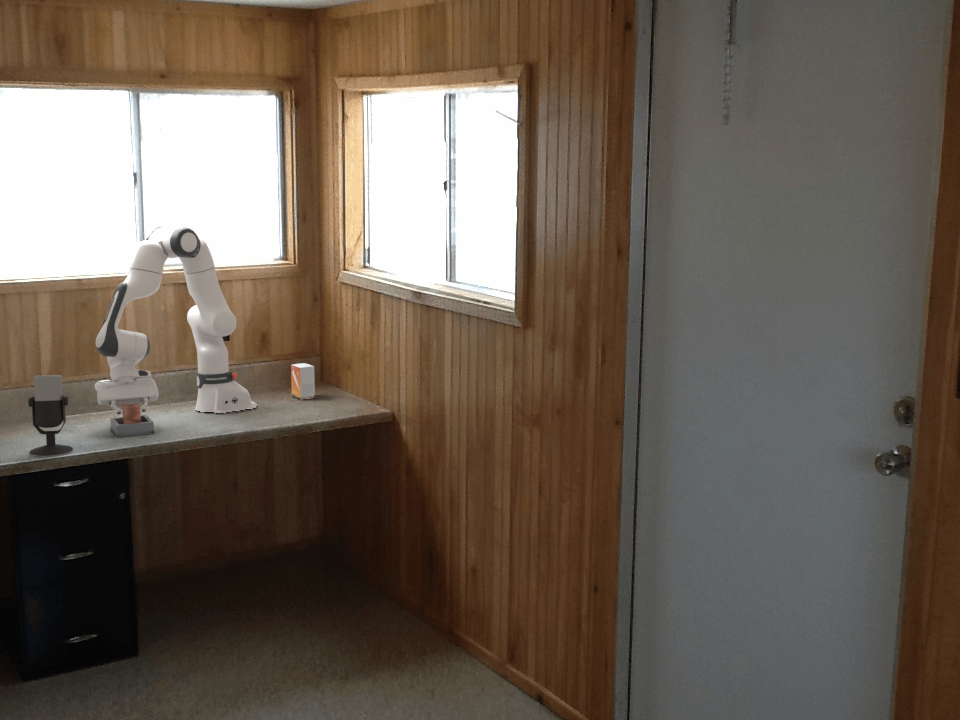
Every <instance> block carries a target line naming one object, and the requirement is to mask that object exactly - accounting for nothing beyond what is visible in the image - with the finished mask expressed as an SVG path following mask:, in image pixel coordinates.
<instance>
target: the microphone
mask: <svg viewBox="0 0 960 720" xmlns="http://www.w3.org/2000/svg"><path fill="white" fill-rule="evenodd" d="M33 390H34V391H33V395H32V396H31V397H29V398H28V401H27V403H28V407H30V408H31V415H32V426H33V427H34V428H35V429H36V431H38V433H39V434H40V435H45V441H46V444H45V445H41V446H39V447H35V448H32V449H31V450H30V451H29V455H30V454H31V455H30V456H32V455H33V456H32V457H36V456H54V457H60V456H59V455H61V456H65V455H68V453H69V454H71V453H72V452H74V448H73V446H71V445H64V444H57V443H56V435H57V434H60V432H61V431H62V429H63V428H64V425H65V424H66V420H67V418H66V416H67V415H66V406H69V397H68V396H65V395H63V376H62V375H61V374H48V375H45V374H44V375H41V374H40V375H34V376H33ZM60 425H61V428H60V429H58V430H43V428H44V429H47V428H48V429H49V428H50V429H51V428H57V427H59V426H60ZM70 452H71V453H70ZM64 454H65V455H64Z"/></svg>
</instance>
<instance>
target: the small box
mask: <svg viewBox="0 0 960 720" xmlns="http://www.w3.org/2000/svg"><path fill="white" fill-rule="evenodd" d="M290 371H291V373H290V374H291V378H290V380H291V381H290V382H291V383H290V384H291V395H292V394H294V395H296V396H298V397H308V396H314V395H315V396H316V388H315V387H316V384H315V382H316V381H315V365H311V364H309V363H306V362H302V363H294V364H293V363H292V364H291V365H290Z"/></svg>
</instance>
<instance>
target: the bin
mask: <svg viewBox="0 0 960 720" xmlns="http://www.w3.org/2000/svg"><path fill="white" fill-rule="evenodd" d="M140 415H141V423H131V424H123V416H122V417H121V416H120V417H111V418H110V419H109V421H110V422H109V423H110V431H111V432H112V433H113V435H114V436H115V437H116V438H123V437H124V438H125V437H134V436H133V435H136V436H142V435H141V434H145V435H150V434H149V433H154V434H155V423H154V421H153V420H152V418H150V417H149V416H148V415H147V414H143V415H142V414H140Z"/></svg>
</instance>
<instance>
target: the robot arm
mask: <svg viewBox="0 0 960 720" xmlns="http://www.w3.org/2000/svg"><path fill="white" fill-rule="evenodd" d="M208 246H209V245H208V244H207V242H206V241H204V240H203V239H199V236H198V234H197V233H196V232H195V231H194V230H193V229H191V228H189V227H187V226H186V227H185V226H173V225H171V226H165V227H163V226H159V227H156V228H153V229H151V231H149V233H148V235H147V236H146V239H145V240H141V241H139V242H138V243H137V245H136V247H135V250H134V252H133V255H132V258H131V262H130V266H129V272H128V274H127V276H126V277H125V279H124V280H123V282H120V283H119V284H118V285H117V286H116V288H115V290H114V292H113V294H112V297H111V300H110V302H109V305H108V307H107V310H106V314H105V317H104V318H103V321H102V324H101V327H100V329H99V330H98V332H97V334H96V336H95V337H96V338H95V339H94V340H95V341H94V346H95V348H96V350H97V351H98V353H99V354H100V355H101V356H102V357H106V360H107V363H108V364H107V365H108V367H109V375H110V379H105V380H98V381H96V382H95V383H94V390H95V392H96V394H97V395H96V397H97V398H96V399H97V404H98V405H99V406H101V407H102V406H110V407H111V409H113V411H114V412H115V415H121V414H122V412H121V411H122V409H121V407H118V406H117V405H122V404H123V405H126V404H137V403H142V405H140V411H141V413H144V412H146V413H147V405H148V402H156V401H158V398H159V395H160V392H159V389H158V386H157V383H156V381H155V379H153V378H152V373H151V371H149V370H144V369H139V368H136V365H138V364H139V363H141V362H142V361H143V360H145V359H146V358H147V357H148V356H149V354H150V353H151V343H150V339H149V337H148V335H146V334H145V333H142V332H139V331H133V330H132V331H131V330H124V329H120V328H119V325H120V321H121V319H122V316H123V313H124V310H125V308H126V306H127V305H128V303H130V302H133V301H135V300H138V299H144V298H148V297H151V296H152V295H154V294H156V293H157V292H158V290H159V289H160V287H161V283H162V278H163V273H164V266H165V262H166V261H167V260H168V259H175V258H179V260H180V261H181V263H182V268H183V274H184V277H185V282H186V287H187V290H188V294H189V295H190V297H192V299H193V301H194V303H195V305H193V306H192V307H190V309H189V310H188V311H187V314H186V319H187V323H188V325H189V326H190V329H191V332H192V336H193V339H194V344H195V349H196V353H197V354H196V355H197V357H196V358H197V372H196V386H197V398H196V399H197V400H196V404H195V408H194V411H196V410H197V411H196V412H198V411H200V412H199V413H204V412H214V413H213V414H216V413H224V412H230V411H236V410H242V409H247V408H254V407H256V406H257V407H258V405H257V403H256V402H255V401H253V400H252V399H251V395H250V393H249V391H248V389H247V388H245V387H244V386H242V385H241V384H240V383H238V382H237V381H235V380H236V379H237V378H238V377H239V375H238V374H237V372H233V371H231V370H229V369H230V368H229V350H228V348H227V345H225V342H224V341H225V340H224V338H223V337H227V336H230V335H232V334H233V333H234V331H235V330H236V328H237V317H236V316H235V314H234V313H233V312H232V310H231V309H230V306H229V305H228V302H227V301H226V298H225V296H224V294H223V292H222V289H221V285H220V282H219V279H218V275H217V271H216V266H215V262H214V260H213V255H212V253H211V250H210V249H209V247H208ZM224 414H225V413H224Z"/></svg>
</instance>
